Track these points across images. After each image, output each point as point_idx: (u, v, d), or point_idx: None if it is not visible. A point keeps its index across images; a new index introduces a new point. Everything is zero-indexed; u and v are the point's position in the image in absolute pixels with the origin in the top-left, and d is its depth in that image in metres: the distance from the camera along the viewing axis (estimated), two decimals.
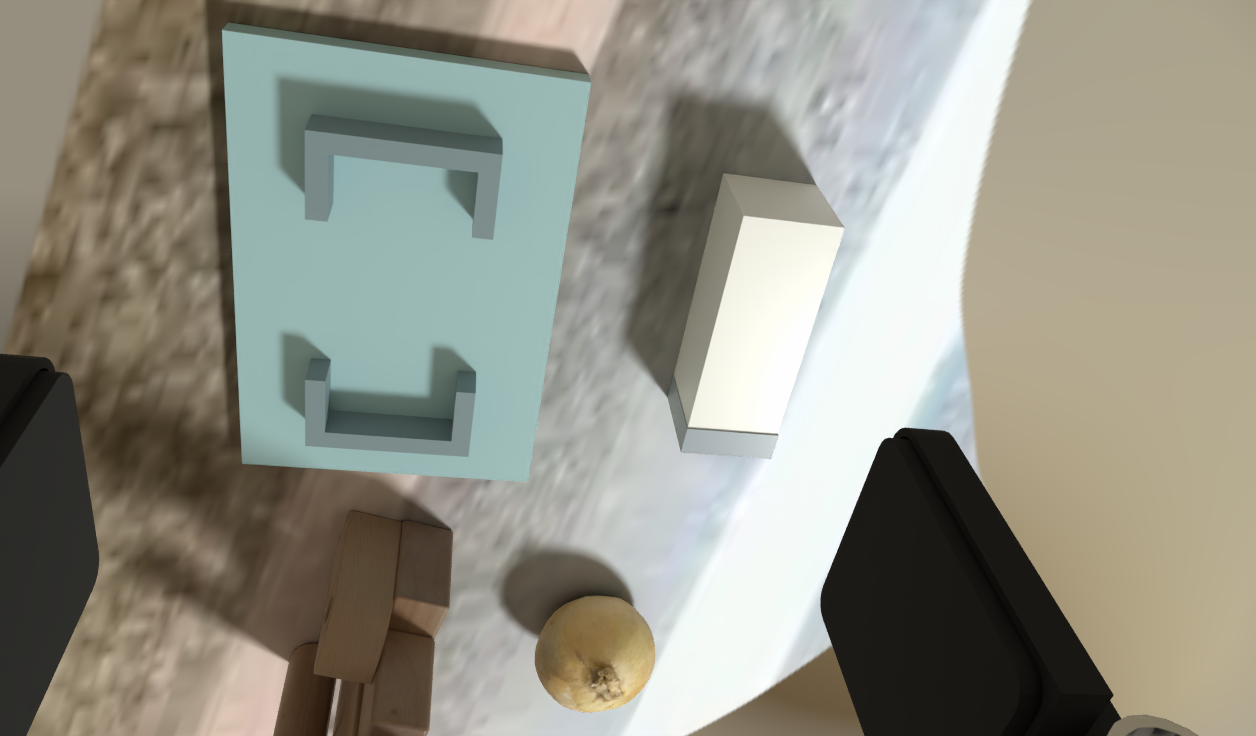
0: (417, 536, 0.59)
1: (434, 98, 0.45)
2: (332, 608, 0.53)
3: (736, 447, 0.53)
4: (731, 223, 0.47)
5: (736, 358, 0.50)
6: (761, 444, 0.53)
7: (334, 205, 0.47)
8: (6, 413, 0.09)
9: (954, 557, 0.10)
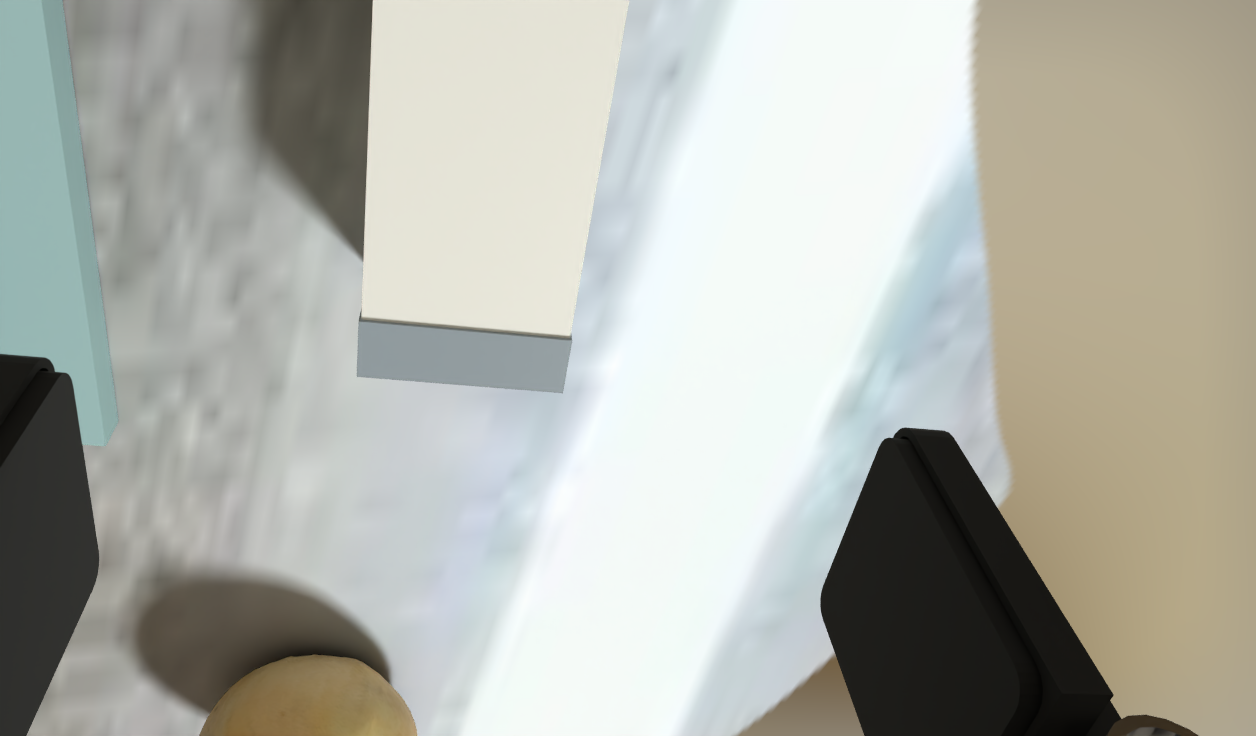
0: None
1: None
2: None
3: (481, 366, 0.24)
4: None
5: (443, 145, 0.21)
6: (537, 361, 0.24)
7: None
8: (6, 413, 0.09)
9: (954, 557, 0.10)
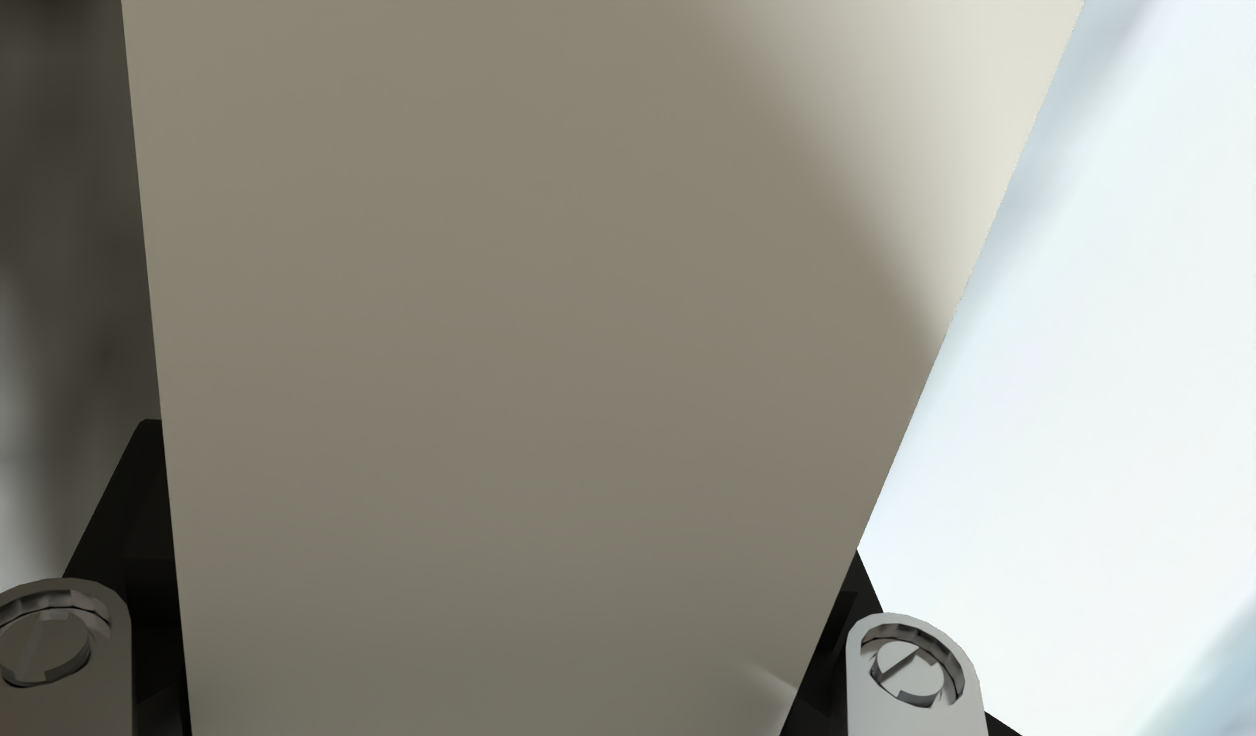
0: None
1: None
2: None
3: None
4: None
5: None
6: None
7: None
8: None
9: None
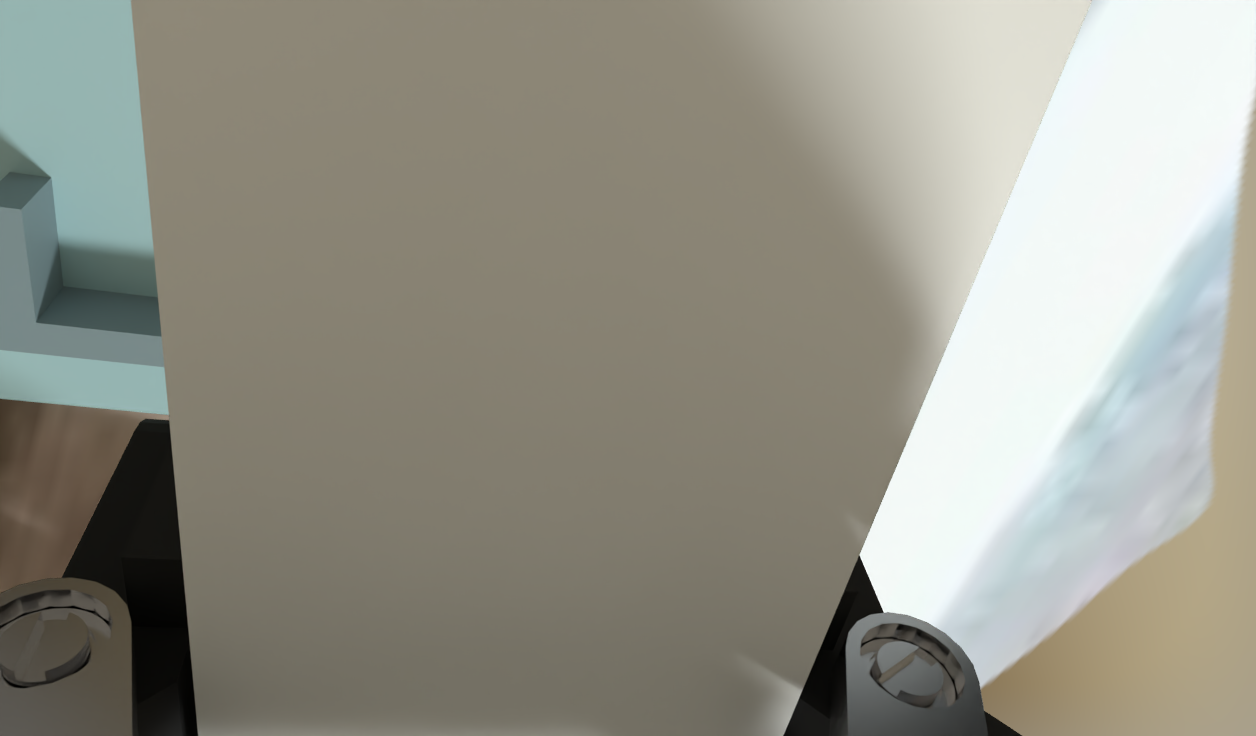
0: None
1: None
2: None
3: None
4: None
5: None
6: None
7: None
8: None
9: None
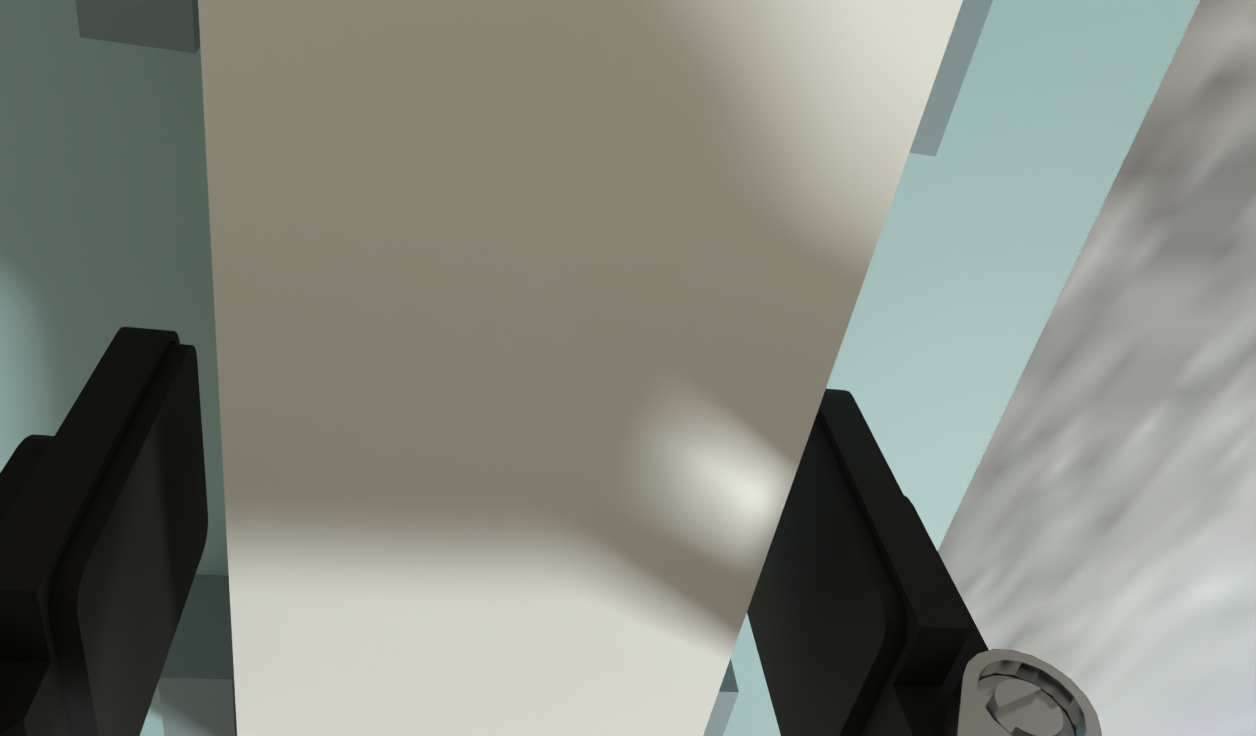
0: None
1: None
2: None
3: None
4: None
5: (396, 684, 0.10)
6: None
7: None
8: (149, 380, 0.10)
9: (839, 505, 0.10)
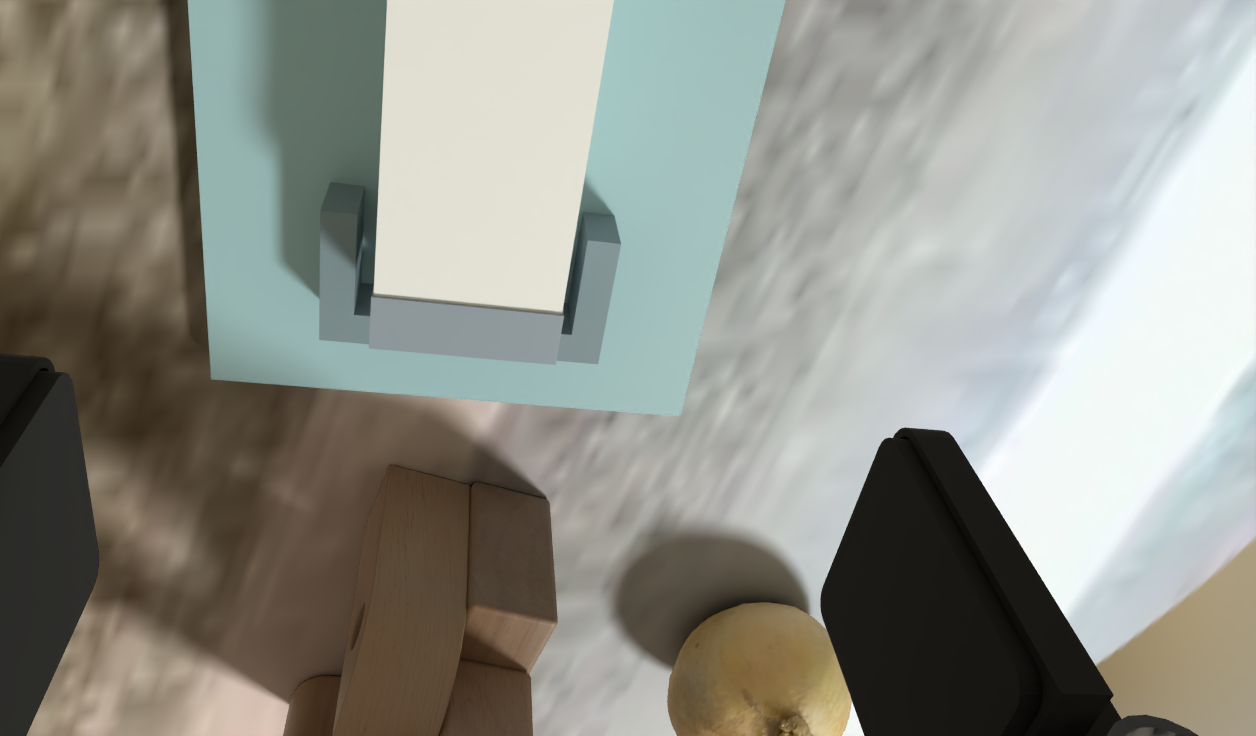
0: (497, 507, 0.37)
1: None
2: (364, 624, 0.31)
3: (481, 339, 0.27)
4: None
5: (448, 136, 0.24)
6: (531, 335, 0.27)
7: None
8: (6, 413, 0.09)
9: (955, 557, 0.10)
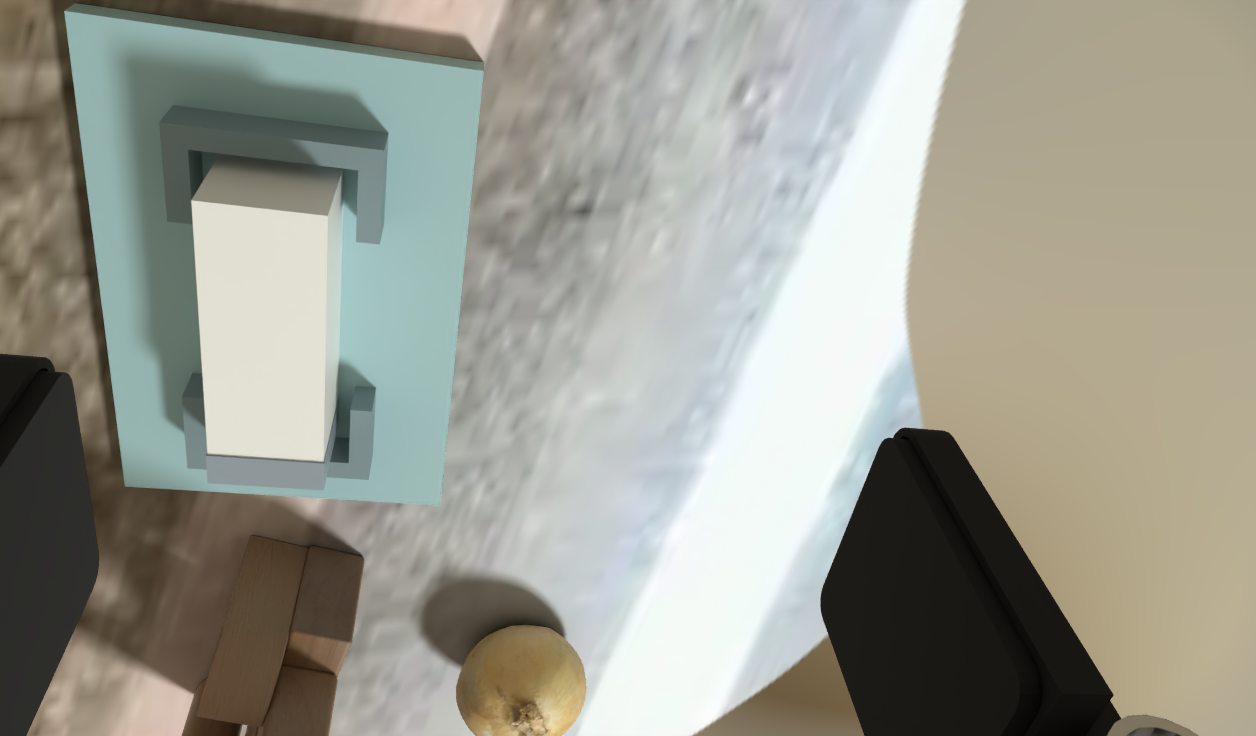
0: (323, 563, 0.55)
1: (309, 88, 0.40)
2: (218, 644, 0.49)
3: (275, 477, 0.45)
4: None
5: (241, 372, 0.42)
6: (306, 474, 0.45)
7: None
8: (6, 413, 0.09)
9: (954, 557, 0.10)
